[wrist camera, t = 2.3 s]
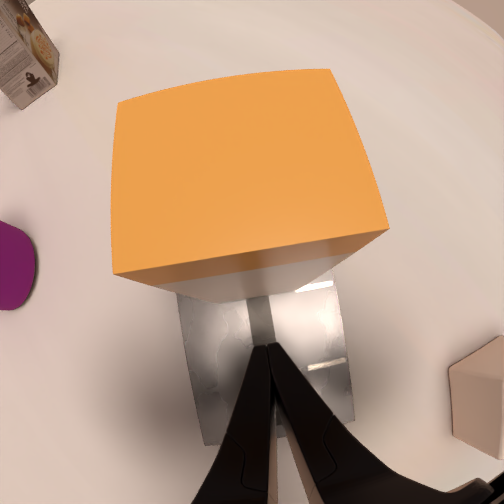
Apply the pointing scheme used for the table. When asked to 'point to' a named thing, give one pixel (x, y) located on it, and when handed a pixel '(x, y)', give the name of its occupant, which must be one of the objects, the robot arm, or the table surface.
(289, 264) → the fader knob
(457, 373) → the medicine bottle
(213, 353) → the board
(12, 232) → the beverage can
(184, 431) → the table surface
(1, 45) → the coffee box
